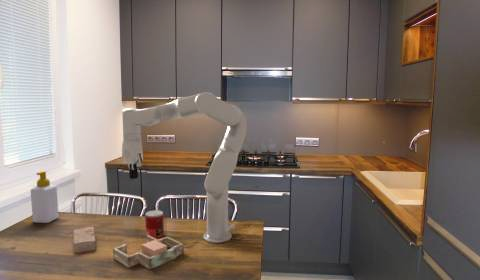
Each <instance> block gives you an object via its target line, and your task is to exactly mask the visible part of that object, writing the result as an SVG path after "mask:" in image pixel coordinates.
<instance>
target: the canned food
mask: <svg viewBox="0 0 480 280" xmlns="http://www.w3.org/2000/svg"><path fill="white" fill-rule="evenodd" d="M144 215H145V218H144V219H145V236H148V235H149V236H151V237H153V238H156V239H158V240H159V239H162V238H164V234H165V233H164V227H165V226H164V212H163V211H162V210H158V209H157V210H156V209H155V210H149V211H146V212H145V214H144Z"/></svg>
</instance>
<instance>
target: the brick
mask: <svg viewBox="0 0 480 280" xmlns="http://www.w3.org/2000/svg"><path fill="white" fill-rule="evenodd" d="M95 250H96V236H95V228H94V226H86V227H81V228H78V229H74V230H73V252H74V253H75V254H76V253H83V252H91V251H95Z"/></svg>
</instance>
